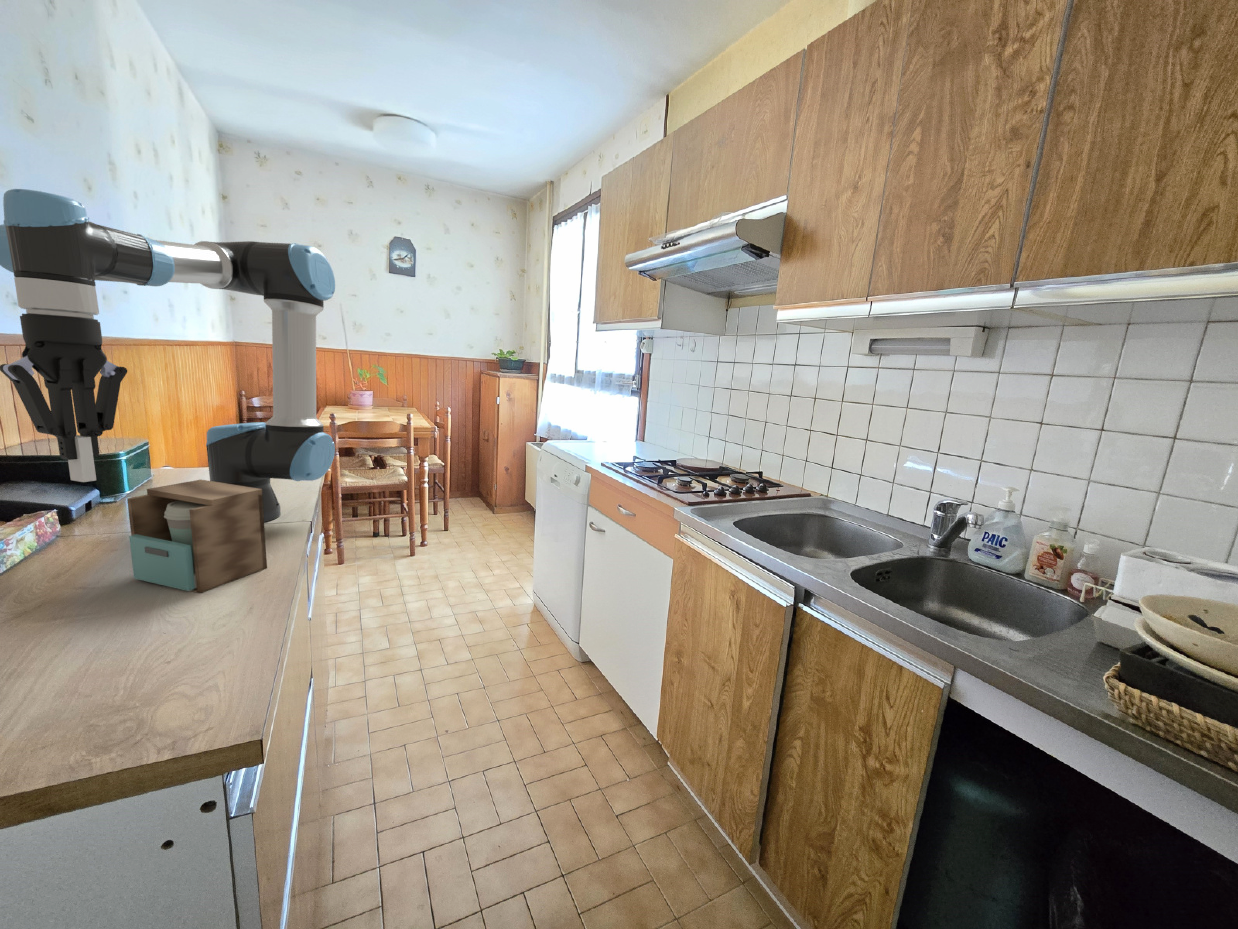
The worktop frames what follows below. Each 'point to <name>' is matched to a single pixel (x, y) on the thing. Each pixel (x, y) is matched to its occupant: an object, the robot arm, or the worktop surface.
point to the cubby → (209, 527)
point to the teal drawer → (162, 562)
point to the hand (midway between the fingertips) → (83, 480)
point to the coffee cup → (181, 522)
